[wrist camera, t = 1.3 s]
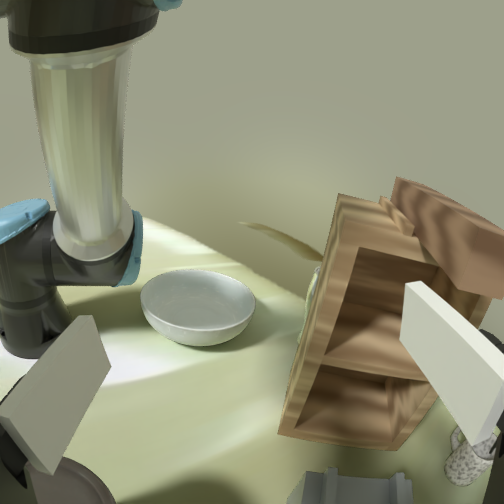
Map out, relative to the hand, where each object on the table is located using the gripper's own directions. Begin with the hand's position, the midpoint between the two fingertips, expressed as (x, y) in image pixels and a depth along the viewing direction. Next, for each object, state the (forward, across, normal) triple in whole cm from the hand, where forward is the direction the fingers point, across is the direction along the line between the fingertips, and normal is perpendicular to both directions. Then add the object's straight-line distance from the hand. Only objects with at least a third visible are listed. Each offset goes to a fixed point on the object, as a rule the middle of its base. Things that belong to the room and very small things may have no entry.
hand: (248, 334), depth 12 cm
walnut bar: (+15, +17, -2) cm, 23 cm away
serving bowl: (+41, -13, -23) cm, 49 cm away
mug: (+10, +28, -36) cm, 47 cm away
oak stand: (+23, +11, -30) cm, 40 cm away
